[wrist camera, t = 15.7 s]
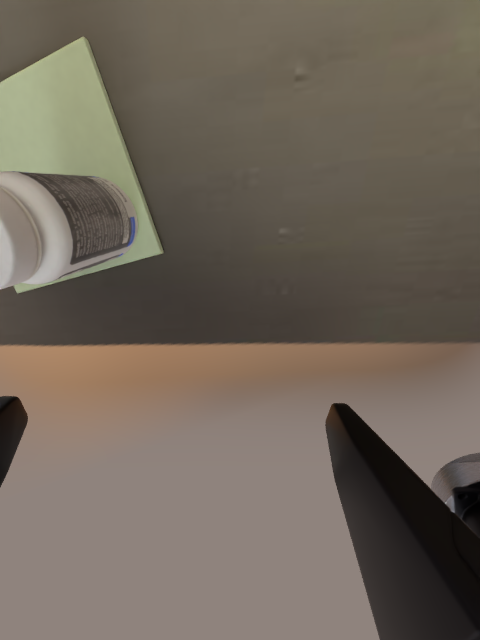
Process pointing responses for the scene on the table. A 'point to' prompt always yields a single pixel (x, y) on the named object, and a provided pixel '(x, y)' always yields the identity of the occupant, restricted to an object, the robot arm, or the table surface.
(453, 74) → the table surface
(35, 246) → the pill bottle
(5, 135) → the mat
